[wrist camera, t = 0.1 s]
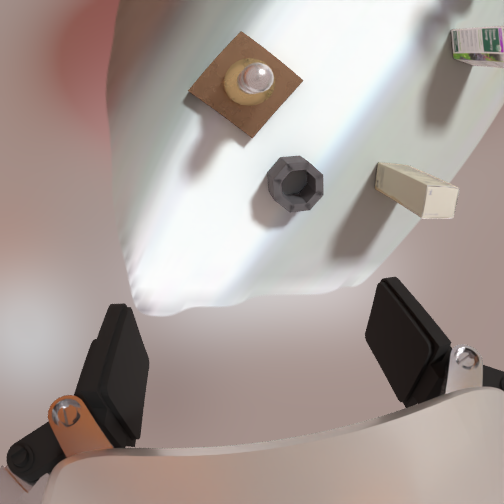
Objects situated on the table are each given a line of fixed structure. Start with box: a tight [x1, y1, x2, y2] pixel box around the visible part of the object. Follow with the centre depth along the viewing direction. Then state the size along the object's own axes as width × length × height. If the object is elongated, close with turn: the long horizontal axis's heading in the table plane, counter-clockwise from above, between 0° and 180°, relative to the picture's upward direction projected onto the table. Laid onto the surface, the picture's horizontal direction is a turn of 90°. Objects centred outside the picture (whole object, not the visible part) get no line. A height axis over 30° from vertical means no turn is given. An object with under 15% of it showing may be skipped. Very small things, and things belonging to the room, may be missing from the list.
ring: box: [267, 156, 323, 212], centre depth 39 cm, size 6×6×4 cm
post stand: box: [188, 31, 303, 138], centre depth 28 cm, size 10×10×12 cm
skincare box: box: [375, 163, 459, 219], centre depth 37 cm, size 6×4×12 cm
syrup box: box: [451, 26, 504, 68], centre depth 25 cm, size 6×6×14 cm
